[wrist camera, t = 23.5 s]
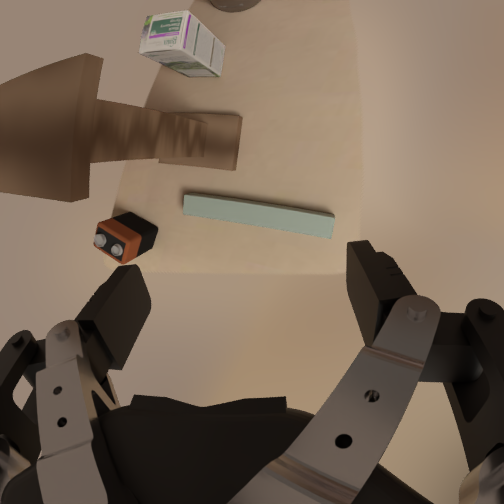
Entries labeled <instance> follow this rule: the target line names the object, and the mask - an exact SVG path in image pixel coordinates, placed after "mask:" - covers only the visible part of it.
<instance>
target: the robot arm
mask: <svg viewBox="0 0 504 504" xmlns="http://www.w3.org/2000/svg"><path fill="white" fill-rule="evenodd" d="M210 1H211V3H212V4H213V5H214V6H215V7H216V8H218V9H220V10H222V11H226V12H240V11H244V10H247V9H249V8H251V7H253V6H255V5H256V4H257V3H258V2H260V0H210ZM346 282H347V291H348V296H349V298H350V301H351V304H352V307H353V310H354V313H355V316H356V318H357V321H358V325H359V327H360V331H361V333H362V337H363V340H364V343H365V346H364V347H363V348H362V349H361V351H360V352H359V354H358V355H357V357H356V358H355V360H354V361H353V363H352V364H351V366H350V367H349V369H348V370H347V372H346V373H345V375H344V376H343V378H342V379H341V381H340V382H339V383H338V385H337V386H336V388H335V389H334V391H333V392H332V393H331V395H330V396H329V398H328V399H327V400H326V402H325V403H324V404H323V406H322V407H321V408H320V410H319V411H318V412H317V413H316V415H314V414H311V413H308V412H305V411H301V410H297V409H292V408H287V402H286V397H285V396H284V397H270V398H248V399H241V400H236V401H232V402H227V403H222V404H218V405H213V406H207V407H198V406H194V405H191V404H187V403H184V402H181V401H177V400H174V399H170V398H167V397H155V396H144V395H134V396H133V398H132V401H131V404H130V405H128V406H124V407H121V406H120V404H119V401H118V398H117V395H116V393H115V390H114V387H113V384H112V381H111V378H110V376H109V375H108V373H107V372H108V370H109V369H115V370H122V368H123V366H124V364H125V362H126V360H127V358H128V356H129V354H130V352H131V350H132V348H133V345H134V343H135V341H136V339H137V337H138V335H139V333H140V331H141V329H142V327H143V325H144V323H145V321H146V319H147V317H148V315H149V313H150V310H151V298H150V295H149V292H148V290H147V287H146V284H145V282H144V279H143V276H142V273H141V271H140V268H139V267H138V266H137V265H136V264H133V265H124V266H118V267H117V268H116V270H115V271H114V272H113V273H112V275H111V276H110V277H109V279H108V280H107V281H106V282H105V283H103V284H102V285H101V286H100V287H99V288H98V289H97V291H96V292H95V293H94V295H93V296H92V297H91V298H90V300H89V302H87V304H86V305H85V306H84V308H83V309H82V310H81V312H80V313H79V314H78V316H77V317H76V318H75V320H66V321H63V322H60V323H58V324H57V325H55V326H54V327H53V328H52V329H51V330H50V331H49V332H48V334H47V336H46V339H43V340H38V341H36V340H35V338H34V337H33V335H32V334H31V332H30V331H28V330H23V331H20V332H18V333H16V334H15V335H13V336H12V337H11V338H10V339H9V340H8V342H7V343H6V344H5V346H4V347H3V349H2V350H1V352H0V504H433V503H432V502H431V501H429V500H428V499H426V498H425V497H423V496H422V495H421V494H419V493H418V492H416V491H415V490H414V489H412V488H411V487H409V486H408V485H407V484H405V483H404V482H402V481H401V480H400V479H399V478H397V477H396V476H395V475H393V474H392V473H391V472H389V471H388V470H387V469H385V468H384V467H383V466H381V465H380V464H379V463H378V462H379V460H380V459H381V457H382V455H383V454H384V452H385V450H386V448H387V446H388V444H389V443H390V441H391V439H392V437H393V435H394V433H395V431H396V429H397V427H398V425H399V423H400V421H401V419H402V417H403V415H404V413H405V411H406V409H407V406H408V404H409V402H410V400H411V397H412V395H413V392H414V390H415V388H416V386H417V383H418V381H419V382H421V381H422V382H443V385H444V387H445V390H446V393H447V396H448V399H449V401H450V404H451V407H452V410H453V413H454V416H455V420H456V423H457V426H458V430H459V433H460V436H461V440H462V443H463V447H464V451H465V455H466V459H467V463H468V467H469V471H470V473H468V474H467V476H466V477H465V478H464V480H463V481H462V484H461V486H460V489H459V504H504V310H503V308H502V307H501V306H500V305H498V304H497V303H495V302H493V301H491V300H488V299H474V300H472V301H470V302H469V303H468V305H467V306H466V310H465V313H446V312H441V311H440V308H439V306H438V305H437V304H436V303H435V302H434V301H433V300H431V299H429V298H427V297H424V296H420V295H417V293H416V292H415V290H414V289H413V287H412V286H411V284H410V283H409V281H408V280H407V278H406V277H405V275H404V274H403V272H402V271H401V269H400V268H398V265H397V264H396V262H395V261H394V259H393V258H392V257H390V256H389V255H387V254H386V253H384V252H375V250H374V249H373V247H372V246H371V244H370V243H369V241H368V240H363V241H353V242H348V243H347V271H346ZM22 375H23V376H24V377H25V378H26V380H27V381H28V382H29V383H30V385H31V386H32V387H33V390H32V392H31V394H30V396H29V398H28V399H27V402H26V404H25V405H24V407H23V409H22V410H21V409H20V408H19V407H18V406H17V405H16V404H15V402H14V400H13V390H14V388H15V387H16V384H17V383H18V381H19V379H20V378H21V376H22ZM41 450H42V456H41V458H39V459H38V457H39V454H40V451H41ZM37 459H38V461H37Z"/></svg>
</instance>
